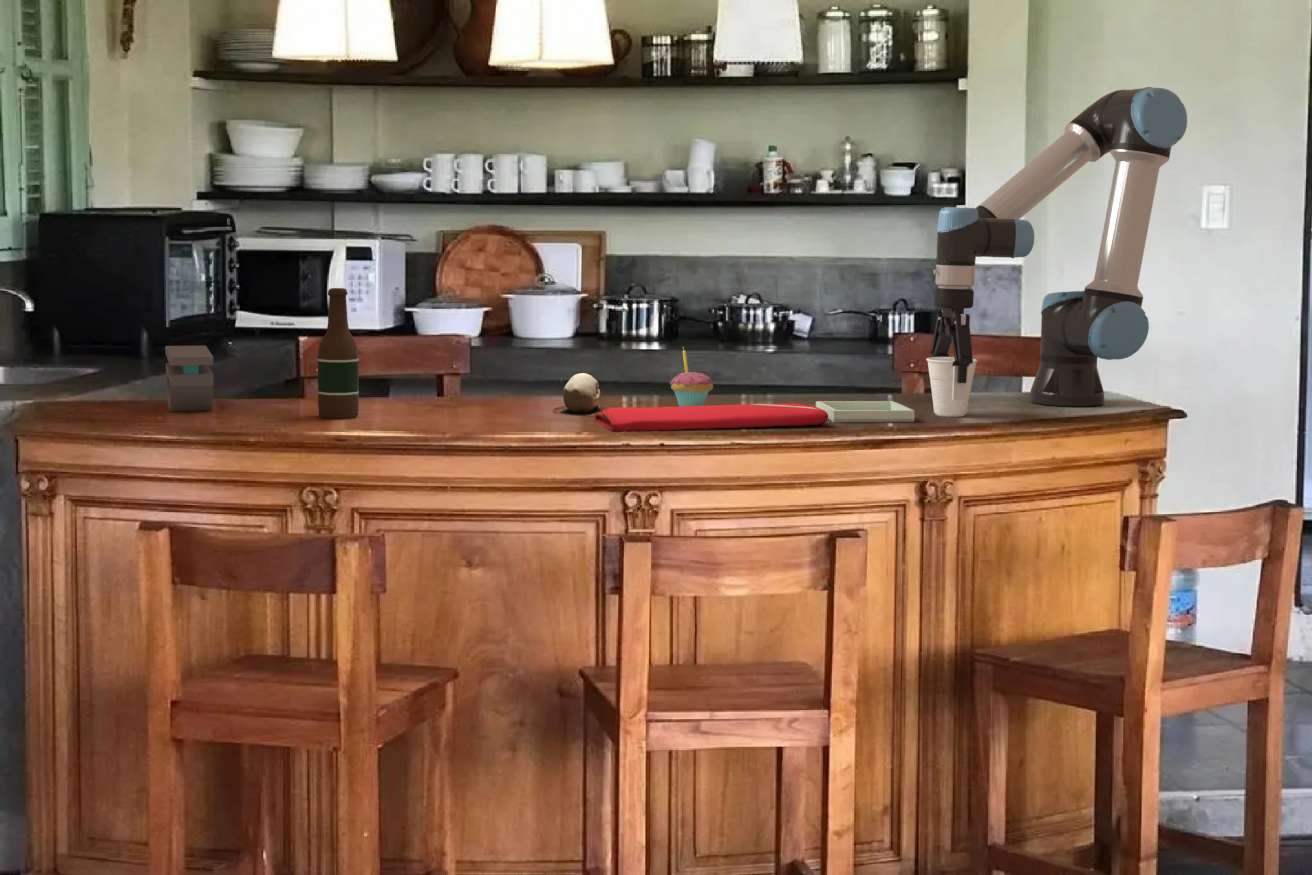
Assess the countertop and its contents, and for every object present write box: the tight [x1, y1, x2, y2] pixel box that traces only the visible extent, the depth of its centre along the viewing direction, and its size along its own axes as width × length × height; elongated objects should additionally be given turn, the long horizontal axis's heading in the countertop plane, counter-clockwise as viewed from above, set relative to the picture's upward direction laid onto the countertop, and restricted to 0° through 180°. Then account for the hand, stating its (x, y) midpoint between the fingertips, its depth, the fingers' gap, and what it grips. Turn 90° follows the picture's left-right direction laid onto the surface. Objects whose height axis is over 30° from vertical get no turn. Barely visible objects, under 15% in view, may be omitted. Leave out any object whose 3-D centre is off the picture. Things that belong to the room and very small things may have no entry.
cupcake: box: [669, 346, 714, 406], centre depth 371 cm, size 9×8×12 cm
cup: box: [926, 356, 978, 418], centre depth 364 cm, size 10×10×11 cm
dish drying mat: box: [594, 402, 829, 432], centre depth 345 cm, size 16×41×4 cm, turn 104°
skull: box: [551, 372, 612, 417], centre depth 362 cm, size 12×10×10 cm
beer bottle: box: [317, 287, 360, 420], centre depth 347 cm, size 8×8×24 cm
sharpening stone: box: [164, 345, 214, 412], centre depth 360 cm, size 25×8×11 cm, turn 17°
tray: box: [815, 400, 915, 423], centre depth 359 cm, size 16×16×2 cm
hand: (949, 396), depth 364 cm, fingers open, 13 cm apart
